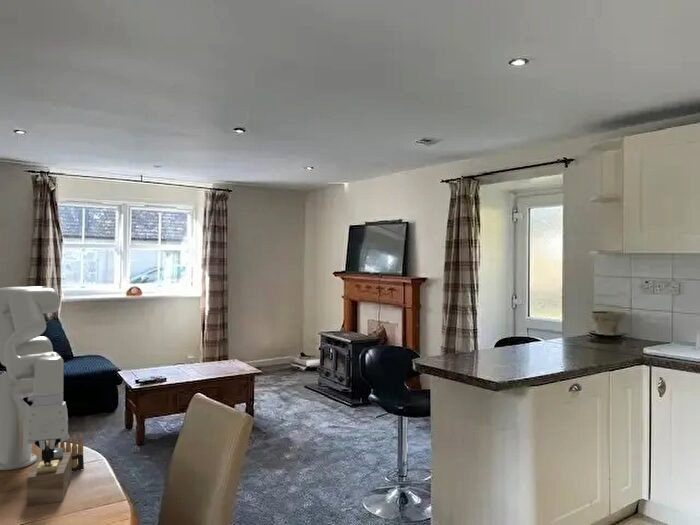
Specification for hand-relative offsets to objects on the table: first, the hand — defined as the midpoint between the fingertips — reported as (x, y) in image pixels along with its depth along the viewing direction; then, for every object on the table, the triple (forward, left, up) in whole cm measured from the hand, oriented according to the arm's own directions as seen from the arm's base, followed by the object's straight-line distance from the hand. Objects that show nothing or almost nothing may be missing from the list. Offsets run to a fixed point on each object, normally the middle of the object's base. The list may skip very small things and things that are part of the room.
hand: (47, 461), depth 153 cm
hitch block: (-4, 0, -10) cm, 11 cm away
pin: (-8, 0, -9) cm, 12 cm away
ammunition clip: (-18, +2, -11) cm, 21 cm away
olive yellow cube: (0, 0, -5) cm, 5 cm away
